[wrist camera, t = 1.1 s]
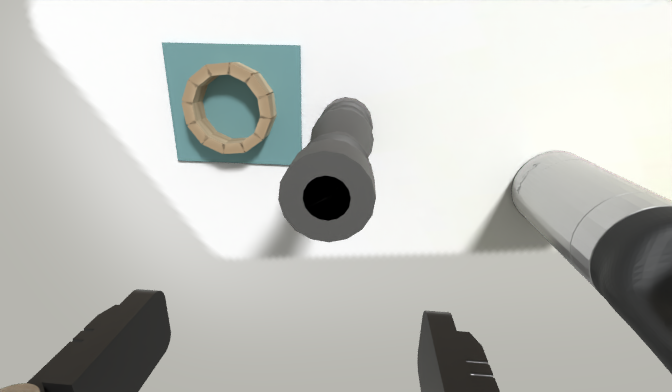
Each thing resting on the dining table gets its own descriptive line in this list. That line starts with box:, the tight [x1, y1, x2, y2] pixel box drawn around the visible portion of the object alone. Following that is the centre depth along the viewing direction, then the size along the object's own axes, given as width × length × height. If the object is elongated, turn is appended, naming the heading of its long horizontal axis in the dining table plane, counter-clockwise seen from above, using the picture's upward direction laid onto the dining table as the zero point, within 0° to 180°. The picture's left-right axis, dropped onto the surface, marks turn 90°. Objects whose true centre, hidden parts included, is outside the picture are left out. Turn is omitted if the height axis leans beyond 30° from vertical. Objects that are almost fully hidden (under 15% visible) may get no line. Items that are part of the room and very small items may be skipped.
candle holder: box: [278, 97, 376, 242], centre depth 33 cm, size 6×6×25 cm
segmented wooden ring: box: [181, 62, 277, 154], centre depth 43 cm, size 10×10×3 cm
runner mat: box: [162, 43, 302, 165], centre depth 45 cm, size 16×14×1 cm
